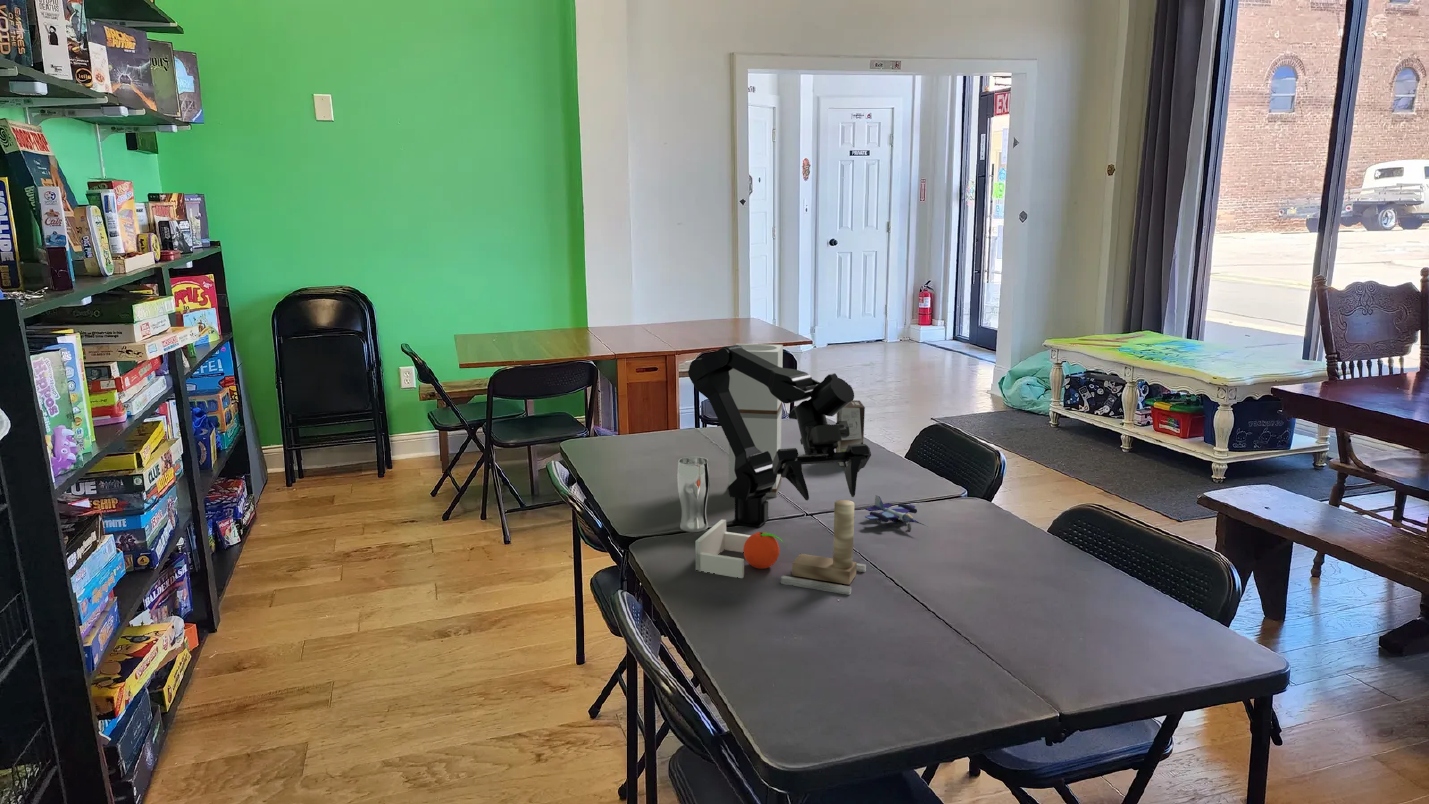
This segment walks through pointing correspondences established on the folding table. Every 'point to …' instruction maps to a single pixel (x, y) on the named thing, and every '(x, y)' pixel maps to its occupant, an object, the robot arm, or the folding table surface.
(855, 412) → the coffee box
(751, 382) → the white square tower
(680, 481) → the beer glass
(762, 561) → the clementine
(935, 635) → the folding table surface
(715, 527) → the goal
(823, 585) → the rails
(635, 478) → the folding table surface
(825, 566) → the ball
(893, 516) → the toy airplane
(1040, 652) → the folding table surface
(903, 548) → the folding table surface
